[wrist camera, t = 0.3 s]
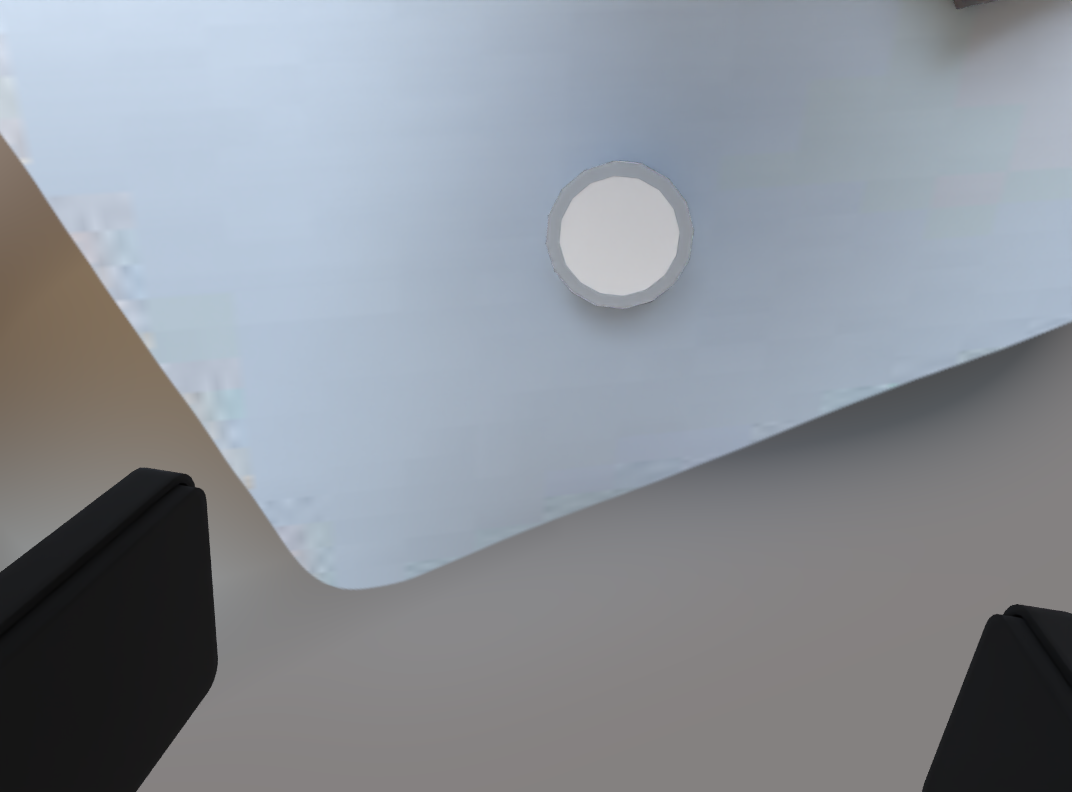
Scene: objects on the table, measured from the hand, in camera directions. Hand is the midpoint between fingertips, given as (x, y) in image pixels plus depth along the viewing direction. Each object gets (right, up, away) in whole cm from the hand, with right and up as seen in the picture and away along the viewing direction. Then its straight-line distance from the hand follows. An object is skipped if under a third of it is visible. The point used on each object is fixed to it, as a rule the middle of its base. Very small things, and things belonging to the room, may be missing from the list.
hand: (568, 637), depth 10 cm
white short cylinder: (+4, +13, +34) cm, 37 cm away
